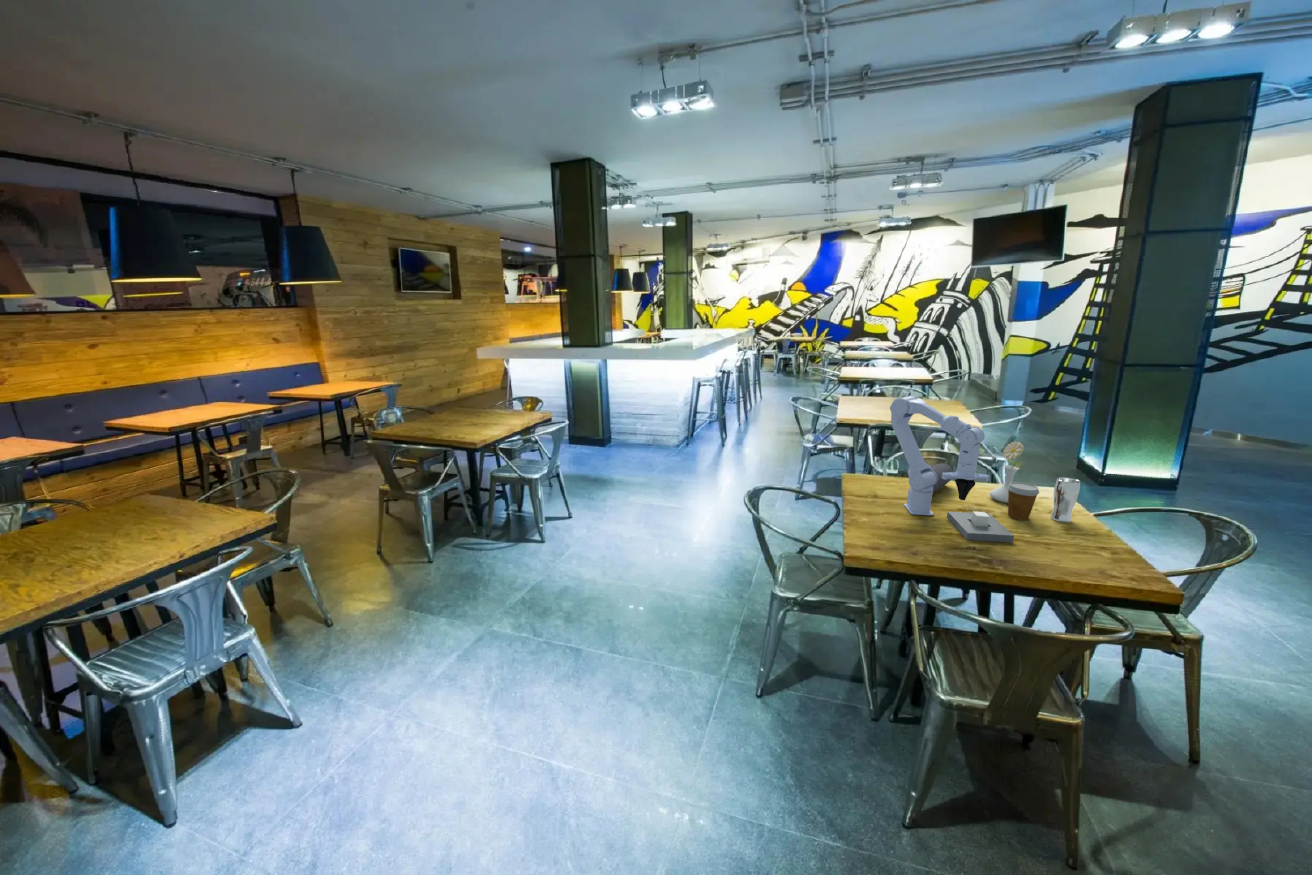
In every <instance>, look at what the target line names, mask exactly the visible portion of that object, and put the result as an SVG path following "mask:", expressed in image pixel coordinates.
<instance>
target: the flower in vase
mask: <svg viewBox="0 0 1312 875" xmlns="http://www.w3.org/2000/svg"><path fill="white" fill-rule="evenodd" d="M1024 449H1025V446H1024V444H1023V443H1022V442H1020V441H1016V440H1015V441H1012V442H1010V443H1009V444H1007V445H1006V446H1005V448H1004V450H1003V455H1002V456H1003V458H1005V459H1006V461H1008V462H1009V463H1010V464H1011V465H1007V464H1006V465H1003V468H1004V469H1005V476H1006V477H1005V482H1004V483H1003V484H1002V485H1001V486H999V487H996V488H994V489H992V490H991V491H990V492H989V496H990V497H991V498H992V499H994V500H996V501H999V502H1002V503H1006V504H1008V492H1009V490H1008V488H1007V487H1008V486H1009V484H1010V483H1012V482H1014V481H1013V480H1014V476H1015V474H1016V472H1017V471H1019V470H1020V469H1022V468H1023V467H1022V462H1021V461H1019V458H1018V457H1020V455H1022V454H1023V452H1024ZM1015 459H1016V461H1015V462H1014V461H1013V460H1015Z"/></svg>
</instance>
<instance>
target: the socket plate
mask: <svg viewBox="0 0 1312 875" xmlns="http://www.w3.org/2000/svg"><path fill="white" fill-rule="evenodd" d="M946 513H947V514H946V519H947V518H948V519H947V520H948V521H949V522H950V523H951V524H952V525H953V526H954V528H955V529H956V528H957V529H956V530H959V531H958V532H959V533H960V534H961V535H962V536H963V537H964V539H965V540H967V541H983V542H999V543H1010V544H1011V543H1014V539H1015V535H1014V534H1013V533H1012V532H1011V531H1010V530H1008V529H1007V528H1006V527H1005V526H1004V525H1003V524H1002V523H1000V522H999V520H997V519H996V518H995V517H994V516H993V515H992V514H990V513H987V514H988V515H989V516H990V519H989V524H988V527H986V526H973V525H972V524H971V517H972V512H963V511H961V512H960V511H947V512H946Z"/></svg>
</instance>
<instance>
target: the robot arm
mask: <svg viewBox="0 0 1312 875" xmlns="http://www.w3.org/2000/svg"><path fill="white" fill-rule="evenodd" d="M889 410H890V414H891V415H890V424H891V426H892V429H893V431H894V433H895V436H896V438H897V441H898V443H899V446H900V447H901V450H902V452H903V454H904V457H905V460H906V462H907V464H908V471H907V476H908V484H909V486H910V487H909V489H908V492H907V497H906V498H907V500H906V503H904V504H903V505H904V507H905V508H906V509H907V511H908V512H909V513H910V514H911V515H917V516H919V515H922V516H935V513H934V512H932V510H931V507H932V499H933V494H934V493H933V485H935V484H936V483H937V481H938V477H937V474H936V473H935V472H934V471H933V470H932V469H931V467H932V466H931V465H930V464H929V463H927V462H925V460H924V457H923V453H921V449H920V447H919V445H918V443H917V440H916V438H915V436H914V434H913V431H912V429H911V427H910V424H909V422H910V420H911V418H912V417H913V415H917V414H918V415H922V416H924V417H926V418H928V419H930V420H931V421H934V422H935V423H937V424H939V426H940V429H941V430H942V431H944V432H946V433H948V434H949V435H950V436H952V437H954V438H956V439H957V440H958V442H959V444H960V447H959V452H958V453H959V454H958V460H957V466H956V471H953V472H948V473H942V479H944V480H946V479H951V480H954V482H955V485H956V487H957V493H958V499H959V500H960V501H966V499H967V496H968V495H969V493H970V492H971V490H972V489H973V488H974V487H975V485H976V482H975V481H979V482H980V481H982V482H983V481H984V482H988V483H989V482H990V479H991V478H990V477H991V476H990V475H988V474H985V473H984V474H983V473H977V469H978V462H979V455H980V447H981V443H982V442H983V441H984V440H985V432H984V431H983V430H982V429H981V428H980V427H979V426H972V424H970V423H966V422H964V421H962V420H961V419H959V418H960V417H959V416H957V415H954V416H953V415H948V416H946V415H945V414H943V413H942V412H940V411H939V410H937V409H936V408H935V407H932V406H931V405H930V404H928V403H927V402H925V401H924V399H921V398H918V397H917V395H909V396H905V397H897V398H896V399H894V400H893V401H892V402H891V404H890V407H889ZM932 493H933V494H932Z"/></svg>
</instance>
